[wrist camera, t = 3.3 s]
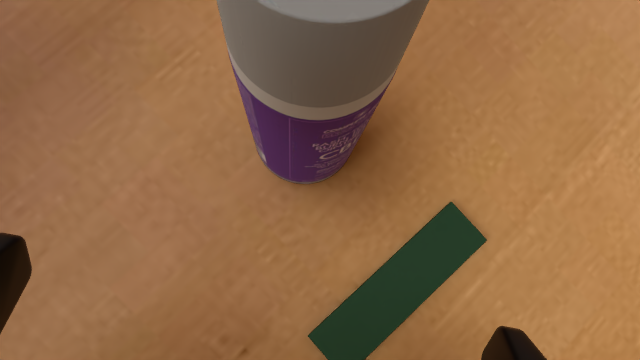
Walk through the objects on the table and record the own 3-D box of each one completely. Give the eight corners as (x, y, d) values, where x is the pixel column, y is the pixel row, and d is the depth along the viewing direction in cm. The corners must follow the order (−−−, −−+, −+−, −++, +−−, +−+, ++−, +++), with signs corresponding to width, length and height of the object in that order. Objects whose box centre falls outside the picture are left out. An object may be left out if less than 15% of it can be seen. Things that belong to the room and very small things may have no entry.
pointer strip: (343, 377, 21) (344, 378, 21) (307, 335, 21) (307, 336, 21) (485, 240, 22) (487, 240, 22) (450, 202, 23) (451, 201, 22)
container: (324, 202, 22) (391, 81, 7) (236, 154, 22) (130, -59, 8) (370, 118, 23) (512, -141, 8) (285, 72, 23) (276, -262, 8)
